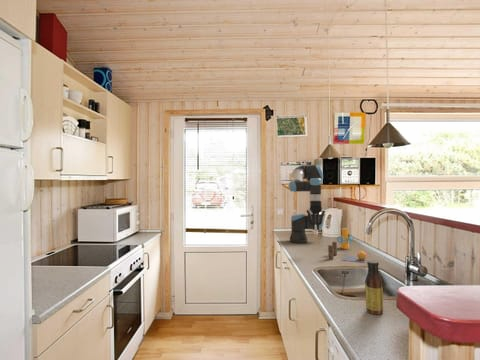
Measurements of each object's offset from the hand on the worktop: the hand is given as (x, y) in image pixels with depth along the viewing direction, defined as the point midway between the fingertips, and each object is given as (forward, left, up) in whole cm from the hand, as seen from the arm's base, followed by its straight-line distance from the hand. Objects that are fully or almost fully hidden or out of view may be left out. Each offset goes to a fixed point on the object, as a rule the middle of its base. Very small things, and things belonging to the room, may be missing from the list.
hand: (316, 234), depth 216 cm
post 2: (-6, +11, -14) cm, 19 cm away
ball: (0, +29, -12) cm, 32 cm away
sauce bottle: (+83, +43, -15) cm, 95 cm away
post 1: (+6, +11, -14) cm, 19 cm away
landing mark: (0, +25, -14) cm, 29 cm away
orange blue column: (-31, +14, -15) cm, 37 cm away
